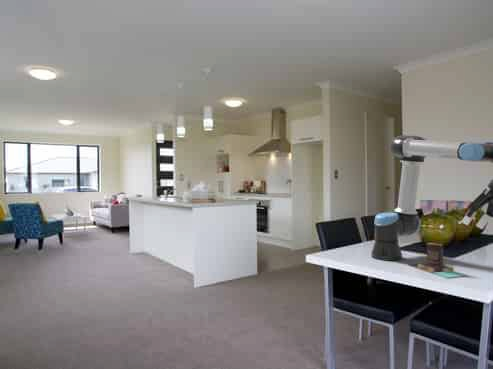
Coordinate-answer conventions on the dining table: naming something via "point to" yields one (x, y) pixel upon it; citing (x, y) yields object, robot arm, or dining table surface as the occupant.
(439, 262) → the box
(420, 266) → the trap track
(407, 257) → the dining table surface
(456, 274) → the pad
